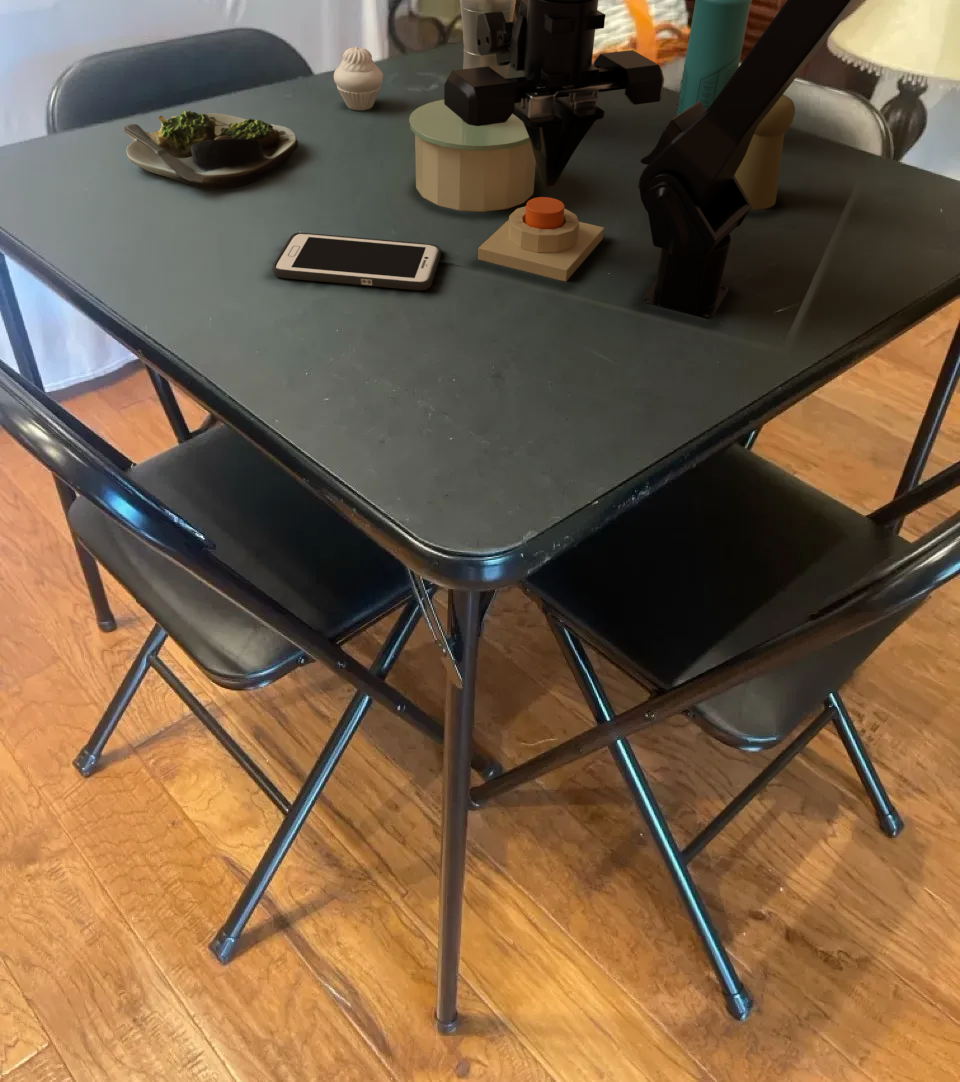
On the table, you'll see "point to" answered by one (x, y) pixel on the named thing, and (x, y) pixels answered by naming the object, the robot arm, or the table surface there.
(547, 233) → the control block
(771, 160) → the cork
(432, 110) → the lid
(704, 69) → the beverage bottle
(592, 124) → the robot arm
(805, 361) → the table surface
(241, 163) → the salad plate
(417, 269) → the cell phone
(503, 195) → the pot
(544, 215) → the button
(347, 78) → the muffin
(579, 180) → the table surface
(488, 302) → the table surface
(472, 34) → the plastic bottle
